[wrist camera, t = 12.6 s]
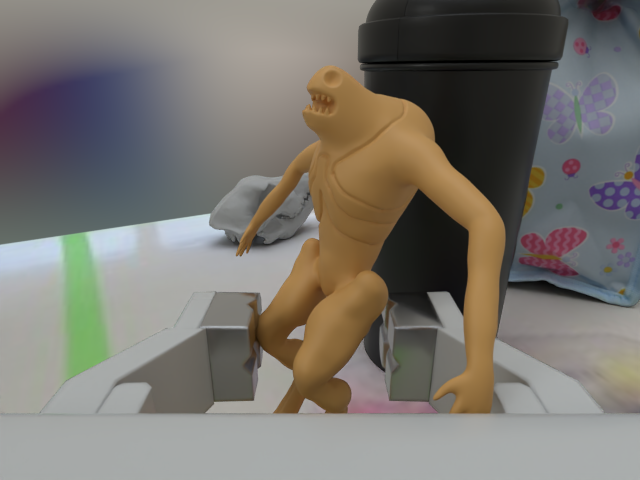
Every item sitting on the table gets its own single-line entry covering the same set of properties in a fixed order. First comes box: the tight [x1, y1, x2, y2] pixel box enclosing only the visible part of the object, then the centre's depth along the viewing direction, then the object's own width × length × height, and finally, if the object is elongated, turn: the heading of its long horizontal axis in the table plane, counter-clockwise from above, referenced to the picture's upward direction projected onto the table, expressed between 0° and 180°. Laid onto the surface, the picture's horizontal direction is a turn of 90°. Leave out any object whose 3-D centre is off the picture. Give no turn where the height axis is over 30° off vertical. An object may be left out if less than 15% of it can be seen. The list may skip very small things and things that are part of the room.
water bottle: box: [358, 0, 568, 371], centre depth 25 cm, size 10×10×23 cm
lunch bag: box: [508, 0, 640, 306], centre depth 40 cm, size 22×17×26 cm
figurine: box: [236, 66, 505, 413], centre depth 10 cm, size 8×6×12 cm
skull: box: [209, 173, 314, 244], centre depth 48 cm, size 8×9×12 cm
